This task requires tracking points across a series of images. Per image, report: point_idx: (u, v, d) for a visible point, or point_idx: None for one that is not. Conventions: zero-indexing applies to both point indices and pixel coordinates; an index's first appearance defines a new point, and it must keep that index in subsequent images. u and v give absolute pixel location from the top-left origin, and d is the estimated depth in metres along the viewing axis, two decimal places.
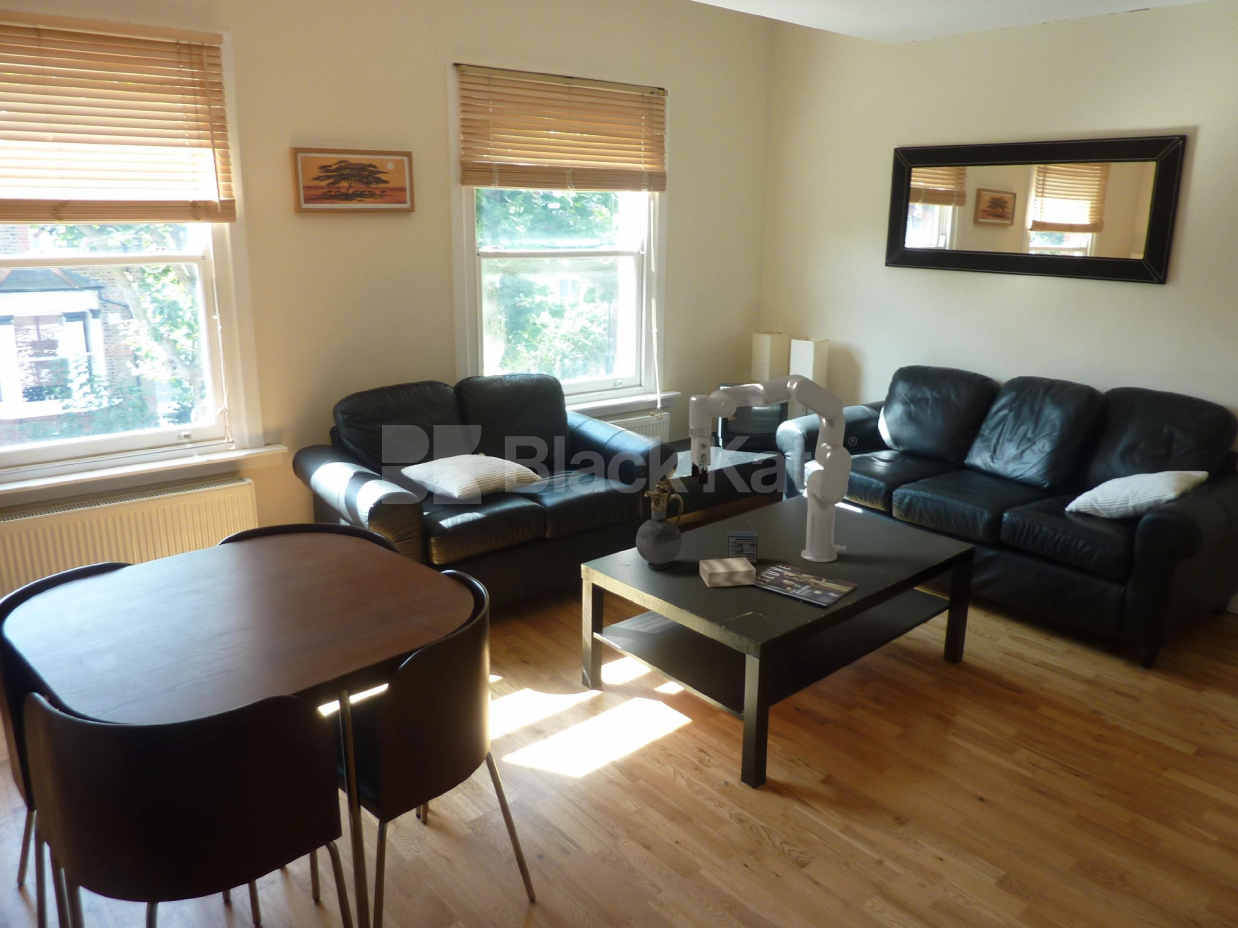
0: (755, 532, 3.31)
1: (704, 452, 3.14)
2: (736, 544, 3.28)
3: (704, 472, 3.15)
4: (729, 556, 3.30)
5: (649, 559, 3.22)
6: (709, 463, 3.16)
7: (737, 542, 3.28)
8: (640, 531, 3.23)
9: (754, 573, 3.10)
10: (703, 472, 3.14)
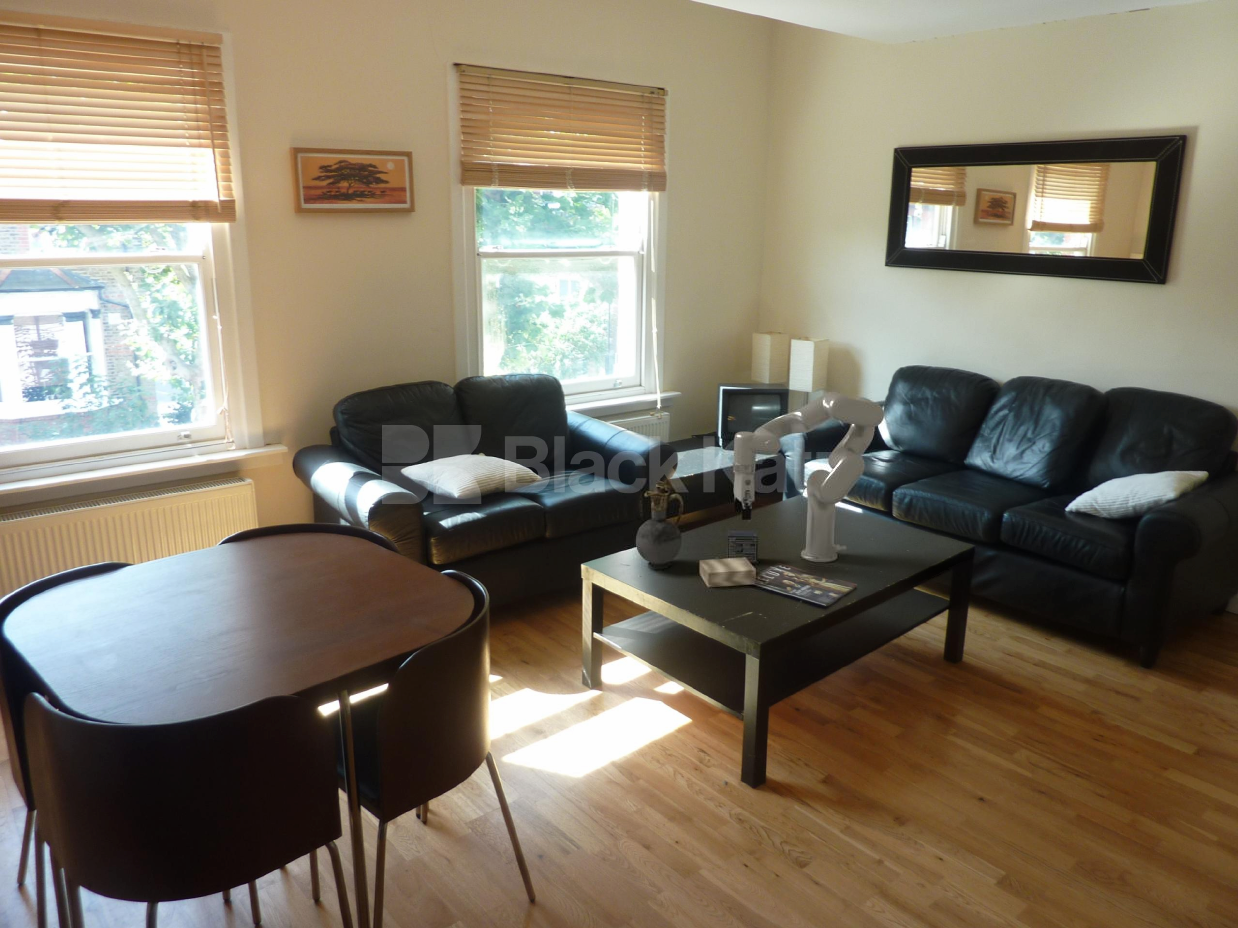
0: (755, 532, 3.31)
1: (748, 488, 3.21)
2: (736, 544, 3.28)
3: (748, 508, 3.21)
4: (729, 556, 3.30)
5: (649, 559, 3.22)
6: (753, 499, 3.22)
7: (737, 542, 3.28)
8: (640, 531, 3.23)
9: (754, 573, 3.10)
10: (747, 508, 3.21)
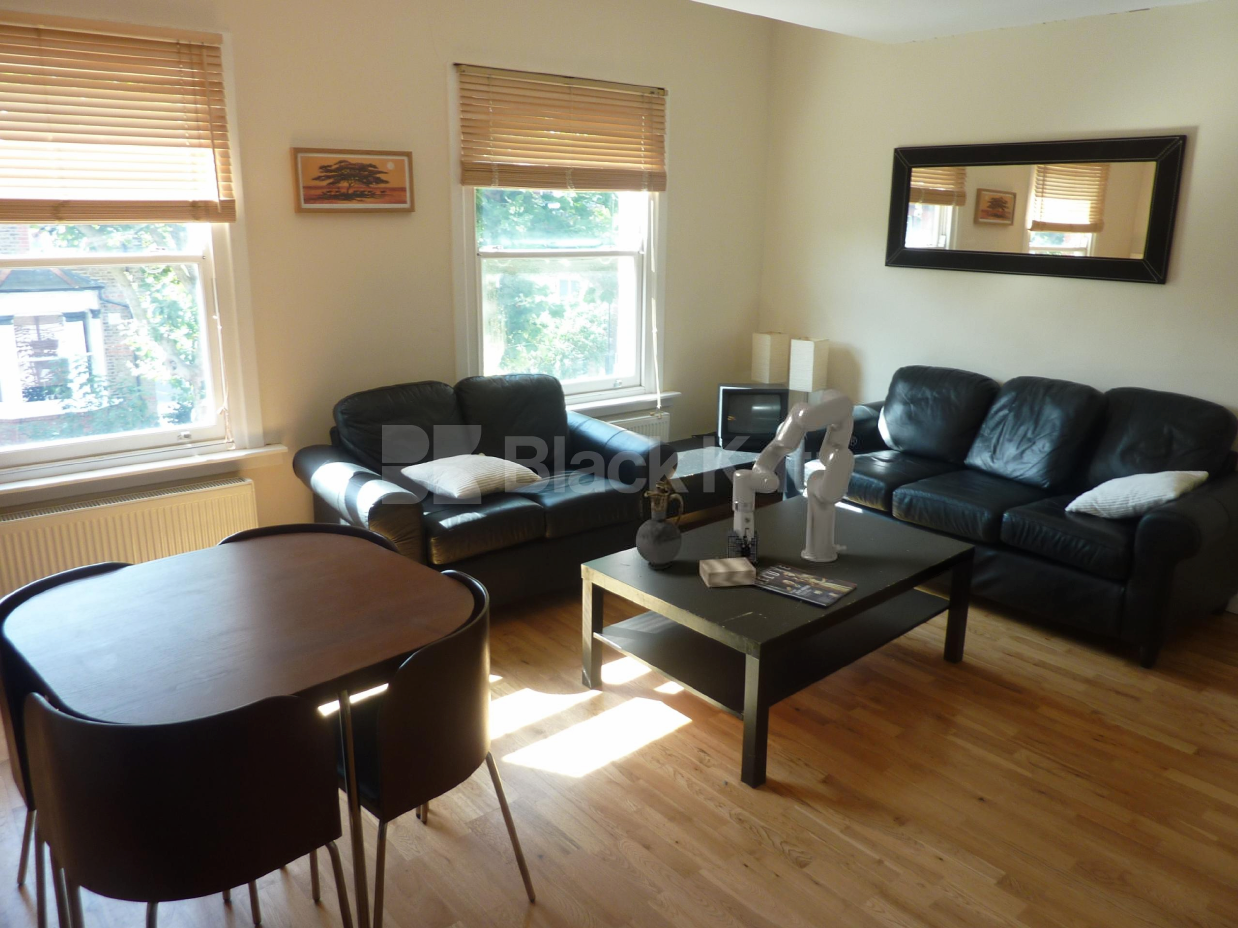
0: (755, 532, 3.31)
1: (748, 526, 3.24)
2: (736, 544, 3.28)
3: (747, 546, 3.26)
4: (729, 556, 3.29)
5: (649, 559, 3.22)
6: (752, 536, 3.26)
7: (738, 542, 3.28)
8: (640, 531, 3.23)
9: (754, 573, 3.10)
10: (746, 546, 3.26)
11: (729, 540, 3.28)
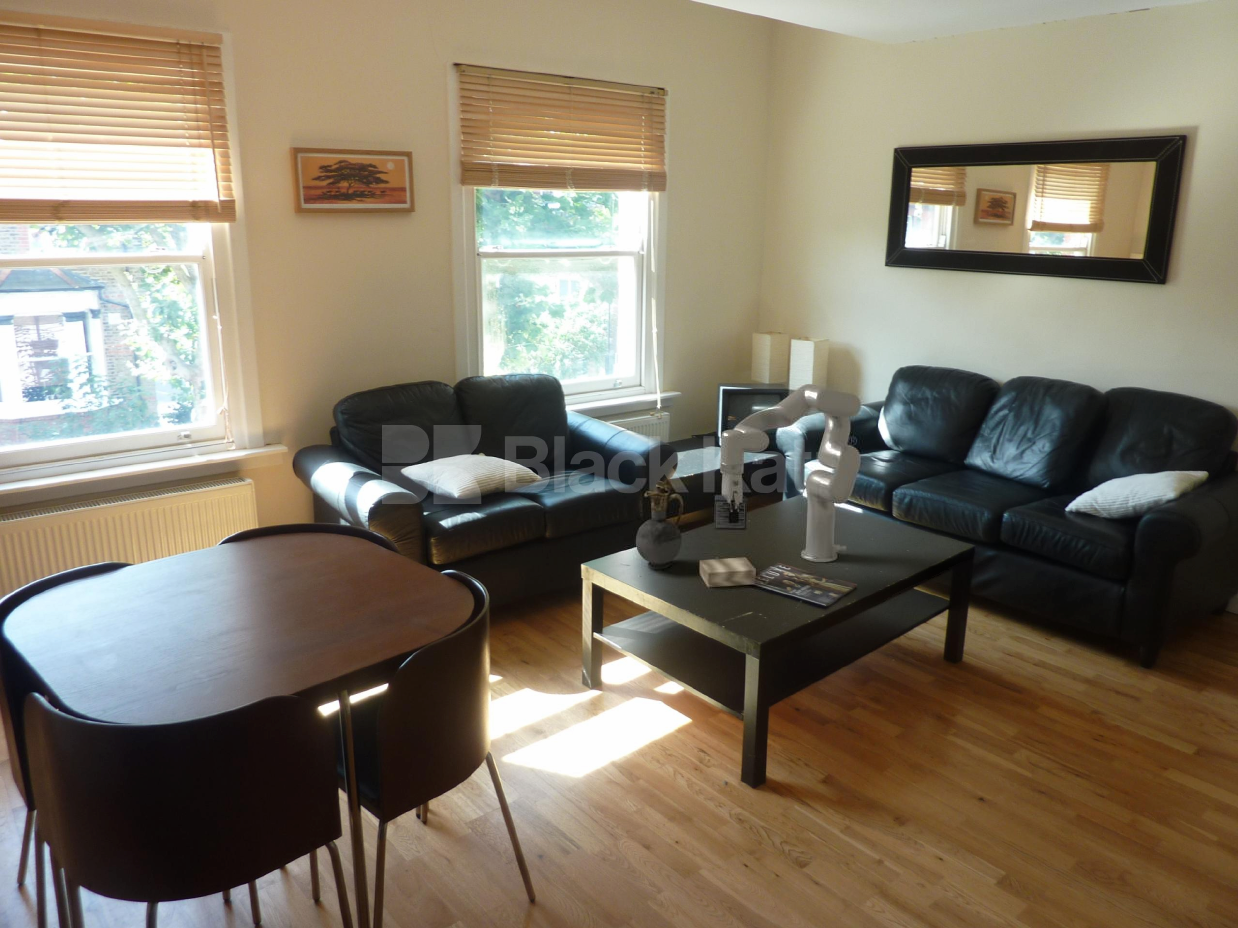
0: (744, 497, 3.12)
1: (736, 489, 3.06)
2: (723, 509, 3.10)
3: (735, 511, 3.07)
4: (716, 522, 3.11)
5: (649, 559, 3.22)
6: (741, 500, 3.07)
7: (725, 506, 3.10)
8: (640, 531, 3.23)
9: (754, 573, 3.10)
10: (734, 511, 3.07)
11: (716, 505, 3.10)
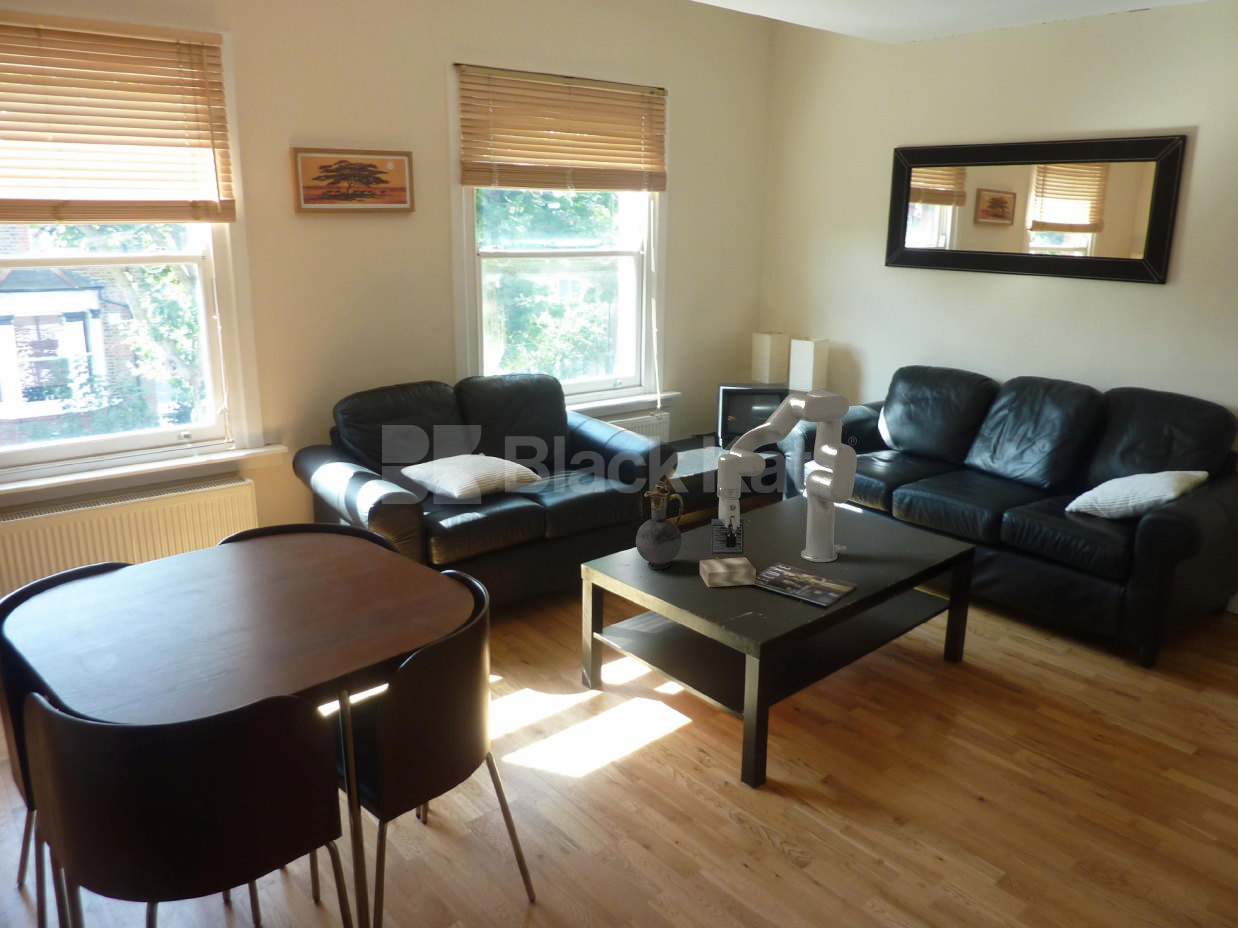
0: (741, 520, 3.11)
1: (733, 514, 3.05)
2: (721, 533, 3.09)
3: (732, 535, 3.06)
4: (713, 546, 3.10)
5: (649, 559, 3.22)
6: (738, 525, 3.06)
7: (722, 531, 3.09)
8: (640, 531, 3.23)
9: (754, 573, 3.10)
10: (731, 535, 3.06)
11: (713, 529, 3.09)
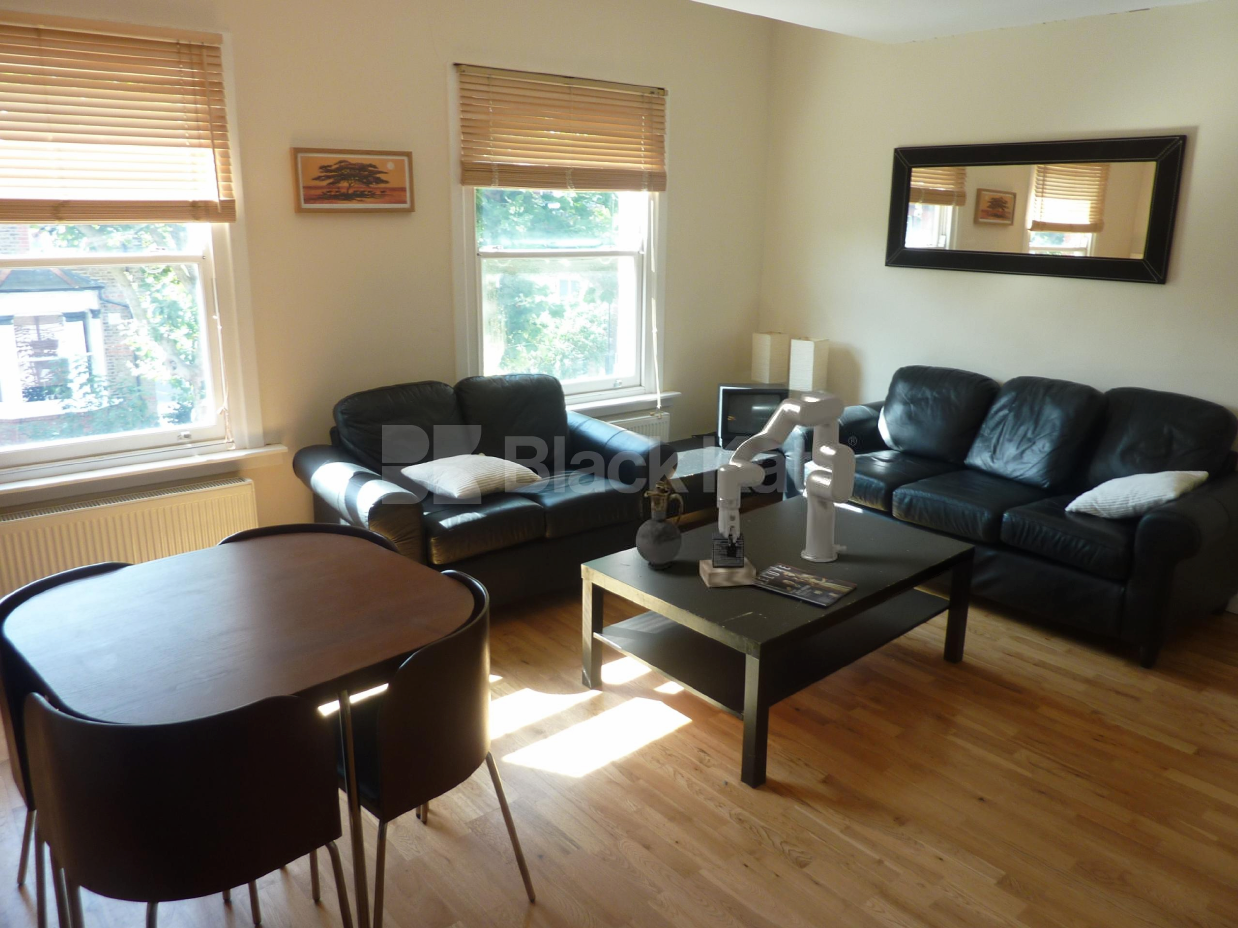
0: (741, 534, 3.13)
1: (733, 524, 3.06)
2: (721, 547, 3.10)
3: (733, 544, 3.06)
4: (714, 560, 3.11)
5: (649, 559, 3.22)
6: (738, 535, 3.07)
7: (723, 545, 3.10)
8: (640, 531, 3.23)
9: (754, 573, 3.10)
10: (732, 544, 3.06)
11: (714, 543, 3.10)
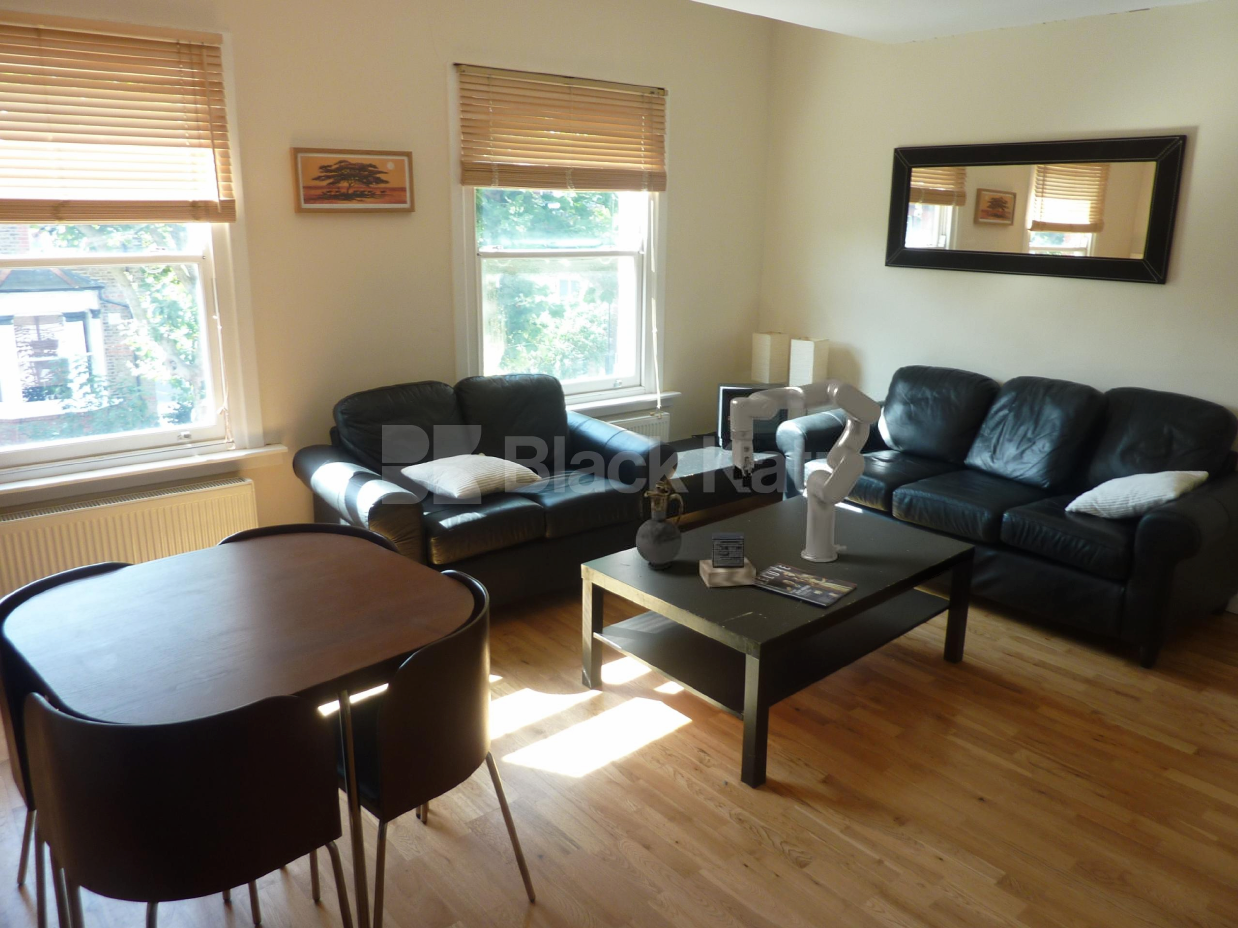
0: (741, 534, 3.13)
1: (747, 455, 3.15)
2: (721, 547, 3.10)
3: (748, 475, 3.15)
4: (714, 560, 3.11)
5: (649, 559, 3.22)
6: (752, 465, 3.16)
7: (723, 545, 3.10)
8: (640, 531, 3.23)
9: (754, 573, 3.10)
10: (747, 475, 3.15)
11: (714, 543, 3.10)
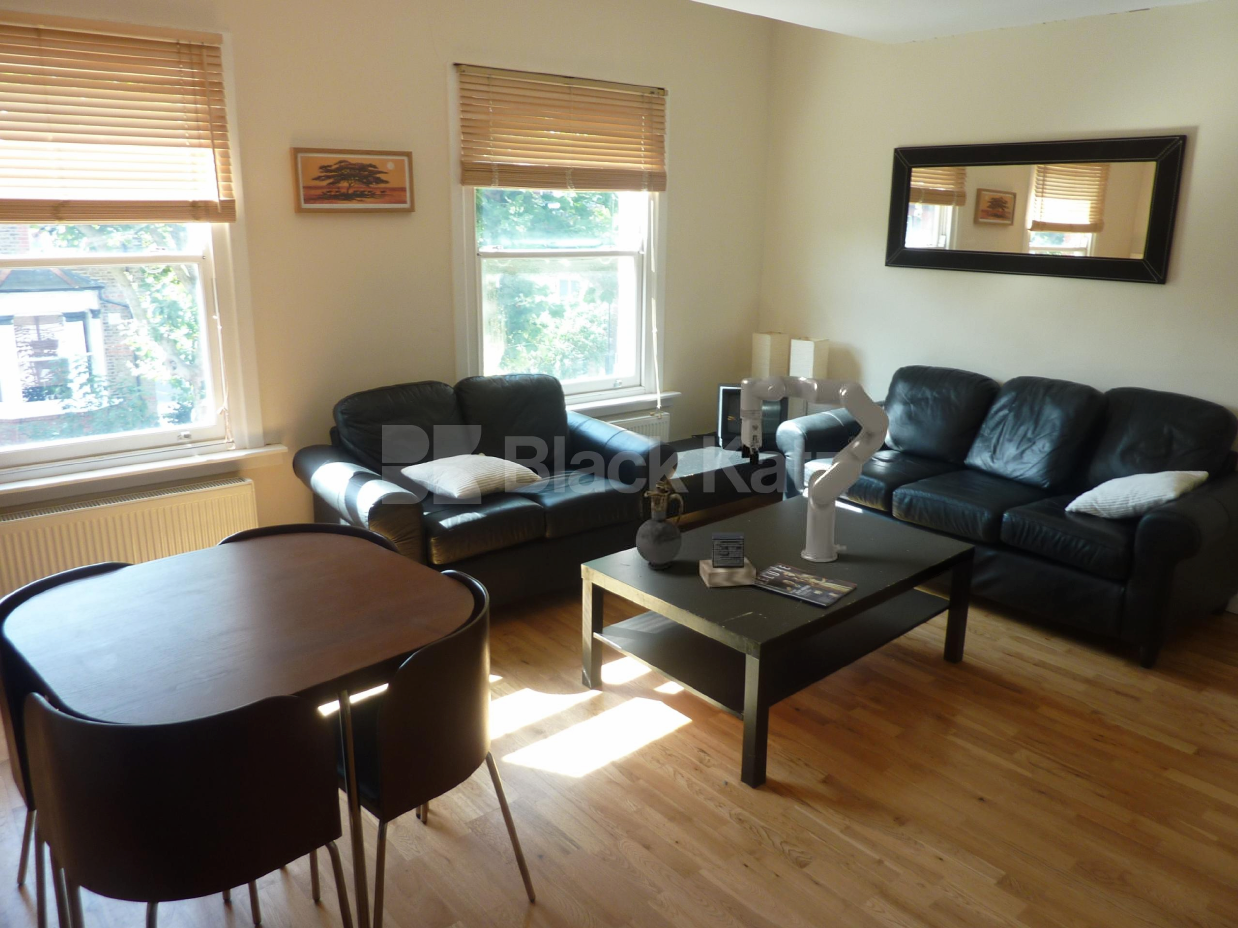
0: (741, 534, 3.13)
1: (755, 433, 3.24)
2: (721, 547, 3.10)
3: (755, 453, 3.24)
4: (714, 560, 3.11)
5: (649, 559, 3.22)
6: (760, 444, 3.25)
7: (723, 545, 3.10)
8: (640, 531, 3.23)
9: (754, 573, 3.10)
10: (754, 453, 3.24)
11: (714, 543, 3.10)
